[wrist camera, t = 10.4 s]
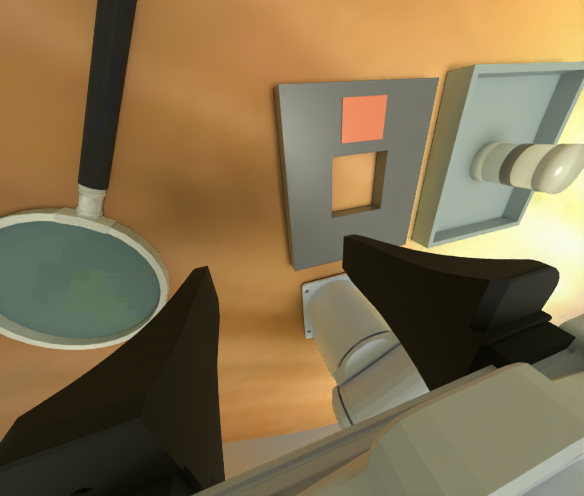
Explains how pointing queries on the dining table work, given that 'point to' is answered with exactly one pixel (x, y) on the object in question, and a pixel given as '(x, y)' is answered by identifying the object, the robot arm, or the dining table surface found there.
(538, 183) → the fuse
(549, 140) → the parts tray
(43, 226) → the magnifying glass
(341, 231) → the fuse holder
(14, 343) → the dining table surface
